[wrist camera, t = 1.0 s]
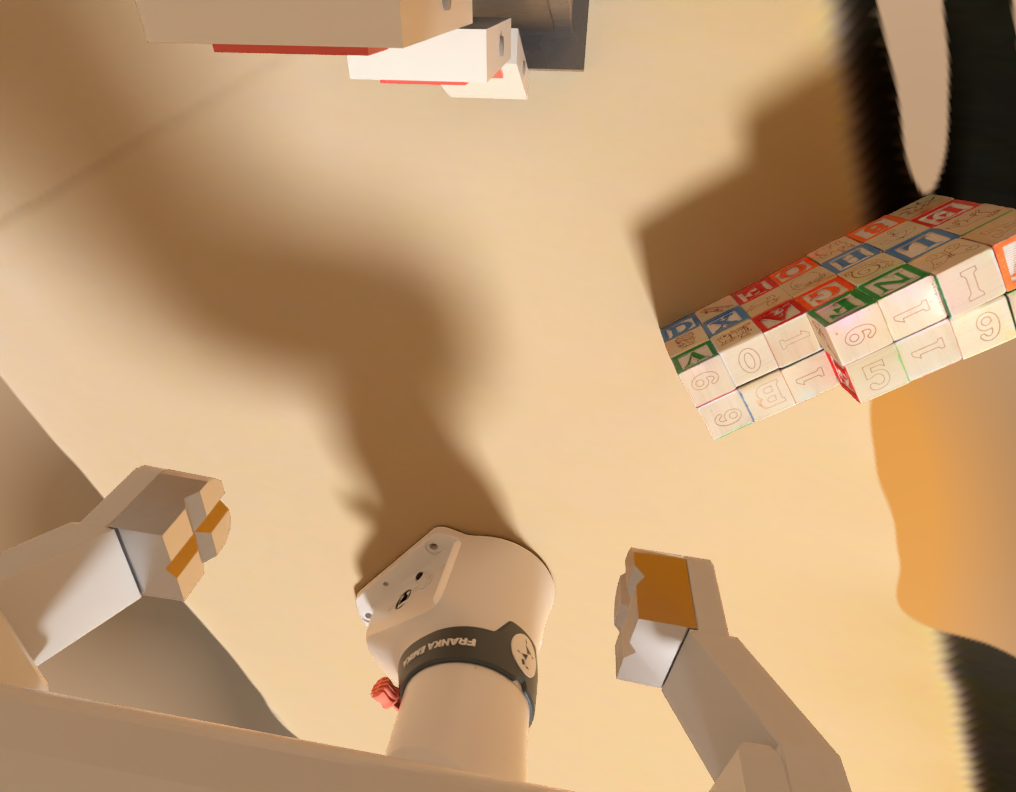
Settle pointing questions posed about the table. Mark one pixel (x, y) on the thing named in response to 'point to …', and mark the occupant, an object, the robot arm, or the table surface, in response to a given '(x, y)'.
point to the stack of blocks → (854, 314)
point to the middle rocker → (442, 57)
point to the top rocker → (302, 24)
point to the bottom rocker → (500, 78)
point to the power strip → (544, 30)
